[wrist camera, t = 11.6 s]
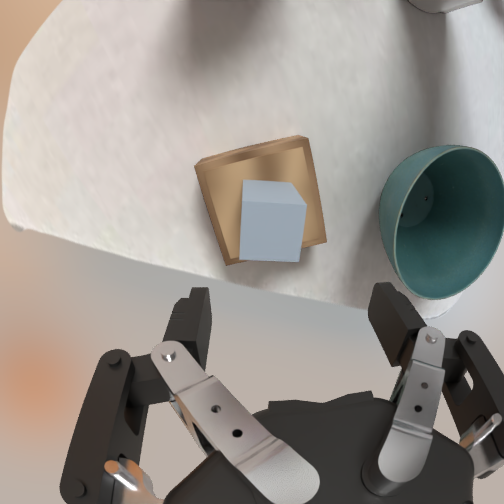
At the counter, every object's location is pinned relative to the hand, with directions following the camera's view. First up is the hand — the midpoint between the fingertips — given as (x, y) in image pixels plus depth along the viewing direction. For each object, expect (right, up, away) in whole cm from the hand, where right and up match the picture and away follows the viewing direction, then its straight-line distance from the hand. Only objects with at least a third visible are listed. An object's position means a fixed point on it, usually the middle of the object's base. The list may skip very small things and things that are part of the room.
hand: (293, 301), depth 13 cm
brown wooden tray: (-1, +10, +22) cm, 24 cm away
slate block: (0, +7, +17) cm, 18 cm away
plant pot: (+20, +10, +22) cm, 32 cm away
